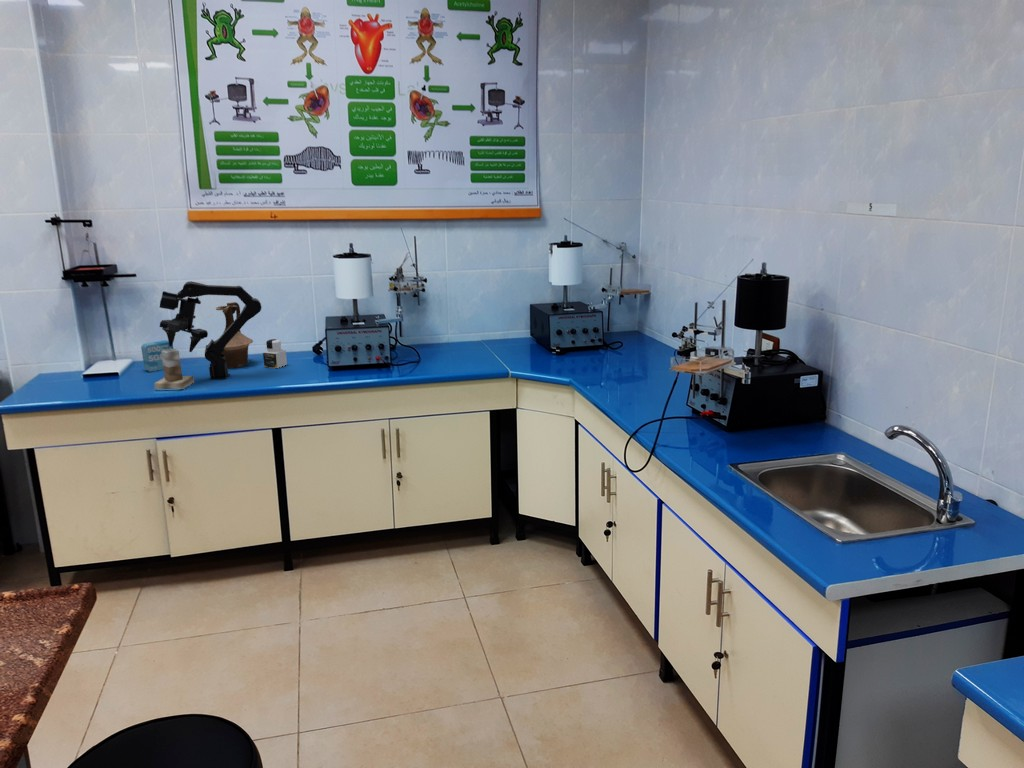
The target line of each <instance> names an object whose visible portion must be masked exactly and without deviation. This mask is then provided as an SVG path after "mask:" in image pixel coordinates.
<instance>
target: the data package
mask: <svg viewBox="0 0 1024 768" xmlns="http://www.w3.org/2000/svg"><path fill="white" fill-rule="evenodd" d="M140 349H141V355H142V361H143V363H142V364H143V368H144V369H145V371H147V372H150V373H152V372H151V371H154V372H158V371H157V370H159V371H164V370H163V369H164V368H163V361H162V354H161V351H163V350H169V349H174V344H173V345H172V346H169V341H168V339H167V340H164V339H163V340H158V341H153V342H146V343H142V345H141V348H140Z"/></svg>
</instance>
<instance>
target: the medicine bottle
mask: <svg viewBox="0 0 1024 768" xmlns="http://www.w3.org/2000/svg"><path fill="white" fill-rule="evenodd" d="M265 345H266V350H265V351H263V352H262V357H263V366H264V367H263V368H265V367H269V368H268V369H275V368H278V369H280V368H283V367H285V365H286V366H287V365H288V362H287V361H288V360H287V350H286V349H282V342H281V340H280V339H277V338H275V339H274V338H272V339H268V340H266V343H265ZM282 366H283V367H282ZM279 367H280V368H279Z"/></svg>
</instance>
